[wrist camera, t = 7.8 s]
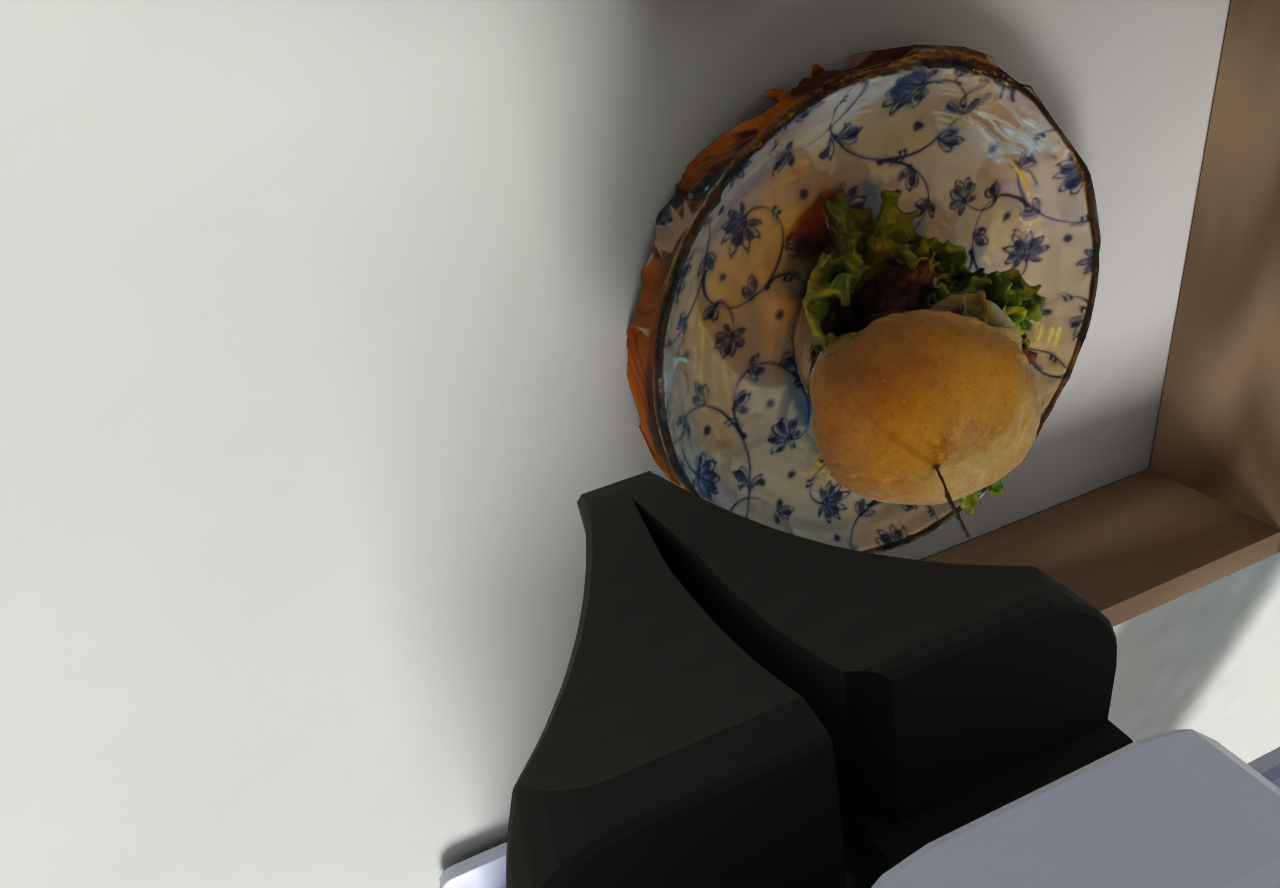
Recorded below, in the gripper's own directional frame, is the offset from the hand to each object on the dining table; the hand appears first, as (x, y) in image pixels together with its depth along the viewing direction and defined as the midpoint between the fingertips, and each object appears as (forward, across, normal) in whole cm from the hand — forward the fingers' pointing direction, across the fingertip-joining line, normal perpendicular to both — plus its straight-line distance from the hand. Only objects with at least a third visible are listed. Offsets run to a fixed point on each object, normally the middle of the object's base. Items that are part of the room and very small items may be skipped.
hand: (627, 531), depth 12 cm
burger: (+5, -8, 0) cm, 9 cm away
